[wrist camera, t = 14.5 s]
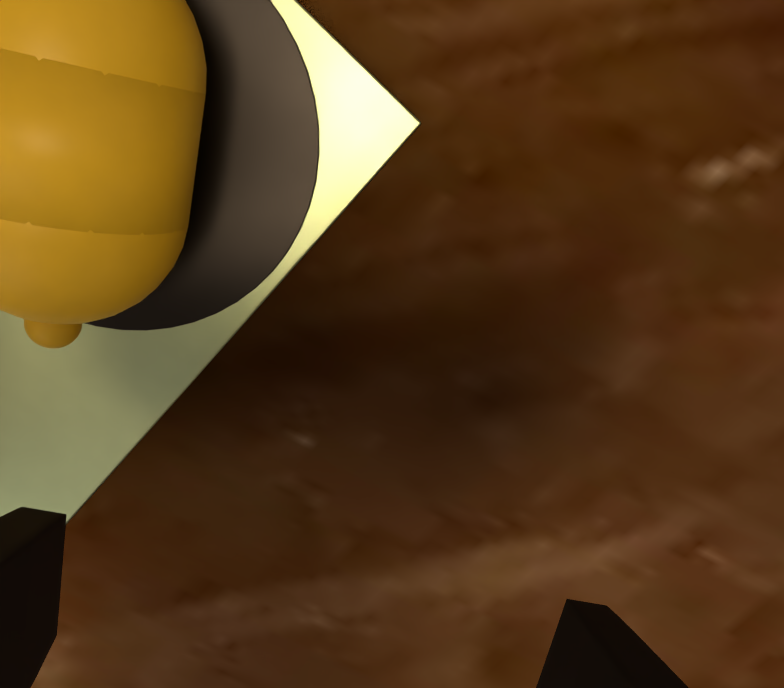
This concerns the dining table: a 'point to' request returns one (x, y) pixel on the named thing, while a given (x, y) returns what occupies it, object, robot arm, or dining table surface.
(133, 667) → the dining table surface
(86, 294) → the lemon
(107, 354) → the hob
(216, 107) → the burner
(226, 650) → the dining table surface
